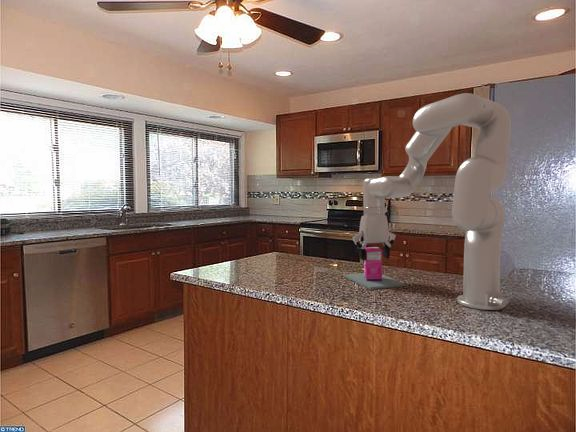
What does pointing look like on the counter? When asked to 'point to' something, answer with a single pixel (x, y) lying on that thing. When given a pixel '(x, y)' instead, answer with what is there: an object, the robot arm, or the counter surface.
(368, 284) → the rubber mat
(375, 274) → the supplement box
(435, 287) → the counter surface
